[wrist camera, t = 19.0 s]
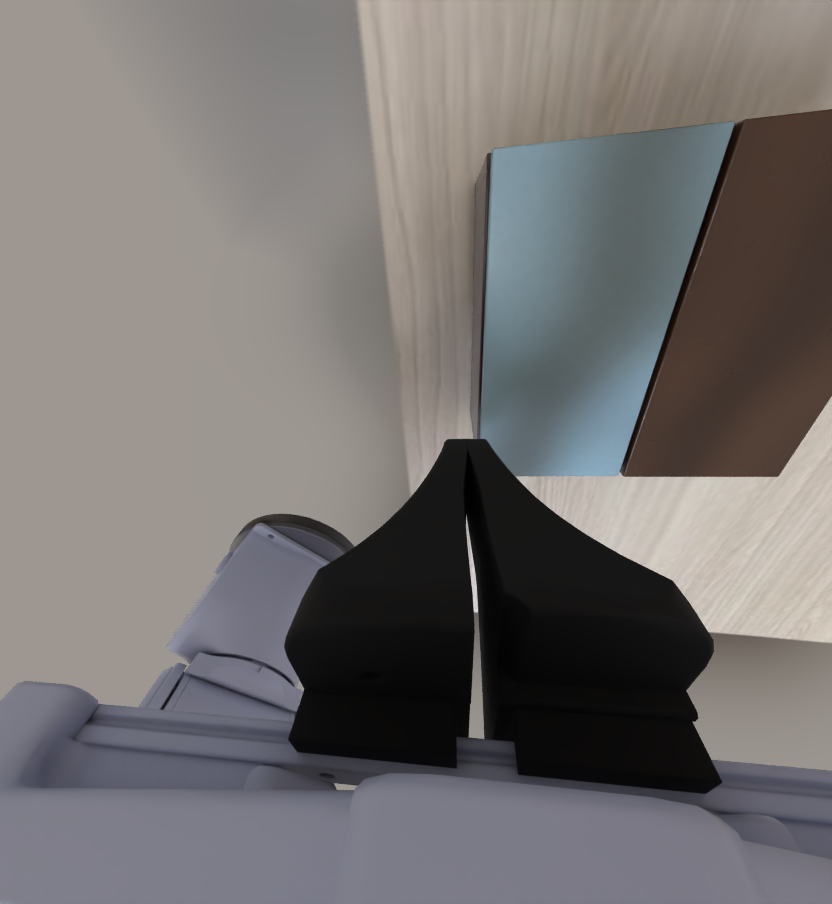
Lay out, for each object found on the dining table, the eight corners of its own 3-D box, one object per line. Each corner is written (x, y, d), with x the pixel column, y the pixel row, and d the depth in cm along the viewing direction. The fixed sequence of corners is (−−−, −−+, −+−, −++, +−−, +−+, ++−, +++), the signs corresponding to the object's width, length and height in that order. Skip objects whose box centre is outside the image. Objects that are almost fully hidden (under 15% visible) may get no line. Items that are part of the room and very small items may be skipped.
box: (470, 410, 20) (476, 477, 14) (475, 183, 14) (489, 146, 8) (681, 406, 18) (780, 478, 13) (783, 150, 13) (1046, 80, 7)
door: (478, 471, 15) (478, 476, 14) (491, 151, 9) (492, 148, 8) (614, 470, 14) (618, 476, 14) (724, 125, 8) (737, 120, 8)
